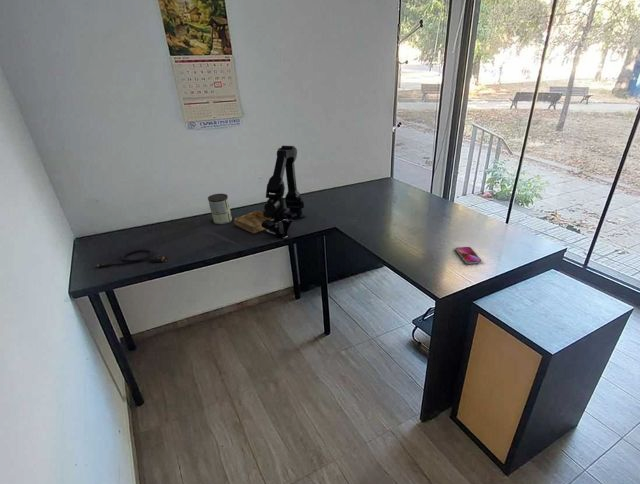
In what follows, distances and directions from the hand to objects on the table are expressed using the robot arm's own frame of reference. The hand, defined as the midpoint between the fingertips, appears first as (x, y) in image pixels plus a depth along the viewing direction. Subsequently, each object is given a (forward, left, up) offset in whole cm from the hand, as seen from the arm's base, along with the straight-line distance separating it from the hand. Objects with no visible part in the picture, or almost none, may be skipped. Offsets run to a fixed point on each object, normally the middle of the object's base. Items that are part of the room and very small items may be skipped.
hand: (281, 235), depth 197 cm
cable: (+60, -34, 0) cm, 69 cm away
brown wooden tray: (0, -21, 0) cm, 22 cm away
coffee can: (+9, -41, 0) cm, 42 cm away
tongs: (0, -3, 0) cm, 4 cm away
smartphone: (-41, +83, 0) cm, 93 cm away
